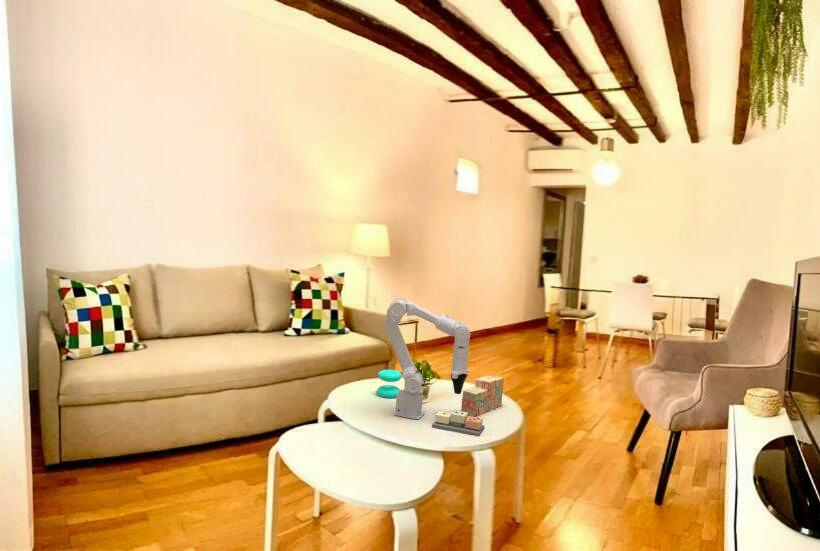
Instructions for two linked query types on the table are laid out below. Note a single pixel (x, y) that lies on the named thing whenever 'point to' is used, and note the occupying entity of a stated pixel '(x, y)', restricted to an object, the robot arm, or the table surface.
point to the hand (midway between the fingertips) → (457, 393)
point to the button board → (458, 428)
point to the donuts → (389, 390)
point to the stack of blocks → (483, 396)
